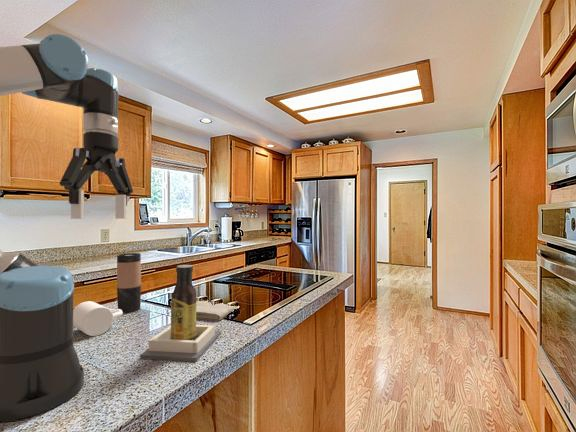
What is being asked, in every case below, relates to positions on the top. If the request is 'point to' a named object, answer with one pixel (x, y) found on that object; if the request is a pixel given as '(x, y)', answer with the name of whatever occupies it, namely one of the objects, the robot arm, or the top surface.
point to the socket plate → (181, 345)
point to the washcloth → (212, 310)
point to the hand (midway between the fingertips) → (100, 218)
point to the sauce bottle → (183, 305)
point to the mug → (94, 318)
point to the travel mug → (129, 282)
